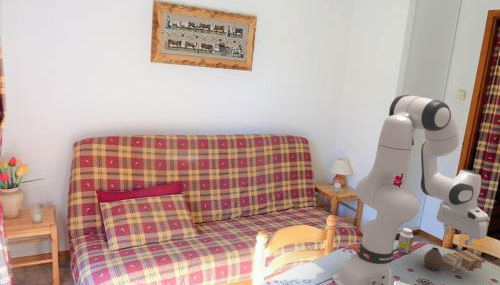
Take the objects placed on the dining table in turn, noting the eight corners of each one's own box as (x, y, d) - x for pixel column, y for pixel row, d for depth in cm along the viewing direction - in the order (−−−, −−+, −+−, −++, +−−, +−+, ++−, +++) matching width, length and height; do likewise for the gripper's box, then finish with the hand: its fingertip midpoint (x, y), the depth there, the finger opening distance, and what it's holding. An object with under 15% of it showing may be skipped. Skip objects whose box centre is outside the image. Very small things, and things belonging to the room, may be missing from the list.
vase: (443, 273, 152) (447, 254, 151) (425, 270, 154) (428, 251, 152) (438, 265, 159) (442, 246, 157) (421, 262, 160) (424, 243, 159)
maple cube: (451, 271, 155) (454, 260, 154) (441, 265, 160) (443, 254, 159) (459, 269, 157) (462, 258, 156) (449, 263, 162) (451, 252, 161)
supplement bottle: (408, 248, 172) (412, 227, 170) (412, 254, 167) (416, 233, 165) (395, 247, 173) (399, 226, 170) (399, 252, 167) (403, 231, 165)
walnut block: (467, 270, 158) (469, 261, 157) (451, 260, 165) (453, 252, 164) (480, 267, 161) (482, 259, 160) (464, 258, 168) (466, 250, 167)
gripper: (436, 200, 161) (430, 229, 164) (482, 219, 143) (475, 252, 146) (446, 198, 164) (440, 227, 167) (492, 217, 146) (485, 249, 148)
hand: (457, 239), depth 156 cm, fingers open, 8 cm apart
